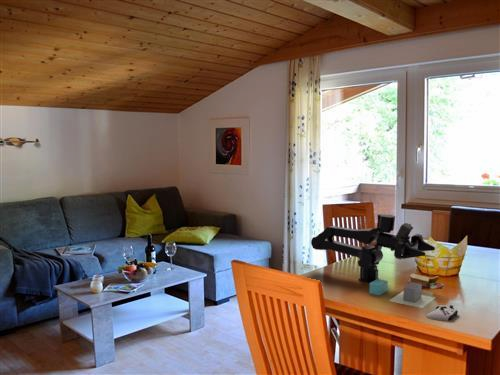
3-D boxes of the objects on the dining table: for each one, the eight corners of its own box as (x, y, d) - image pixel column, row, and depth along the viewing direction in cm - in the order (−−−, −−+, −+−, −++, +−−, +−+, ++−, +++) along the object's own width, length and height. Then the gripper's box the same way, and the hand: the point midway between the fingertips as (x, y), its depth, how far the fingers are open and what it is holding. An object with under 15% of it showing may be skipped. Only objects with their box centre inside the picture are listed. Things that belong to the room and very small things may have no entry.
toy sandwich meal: (441, 295, 179) (442, 282, 179) (405, 289, 186) (405, 277, 185) (446, 286, 190) (446, 274, 190) (411, 281, 197) (411, 270, 196)
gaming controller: (435, 307, 163) (450, 296, 159) (448, 323, 160) (464, 312, 157) (423, 317, 154) (439, 305, 150) (437, 333, 152) (453, 322, 148)
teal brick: (369, 296, 178) (369, 283, 177) (377, 291, 183) (377, 278, 183) (379, 298, 175) (379, 285, 175) (387, 293, 181) (387, 280, 180)
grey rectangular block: (403, 300, 170) (403, 286, 169) (410, 295, 175) (410, 282, 174) (414, 302, 167) (414, 289, 167) (421, 297, 172) (421, 284, 172)
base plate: (388, 303, 170) (388, 300, 169) (403, 293, 180) (403, 290, 180) (422, 310, 162) (422, 308, 162) (435, 300, 173) (435, 297, 173)
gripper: (382, 226, 181) (422, 235, 171) (403, 218, 195) (441, 226, 184) (379, 254, 183) (418, 265, 173) (401, 244, 197) (438, 253, 187)
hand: (430, 251), depth 179 cm, fingers open, 9 cm apart
